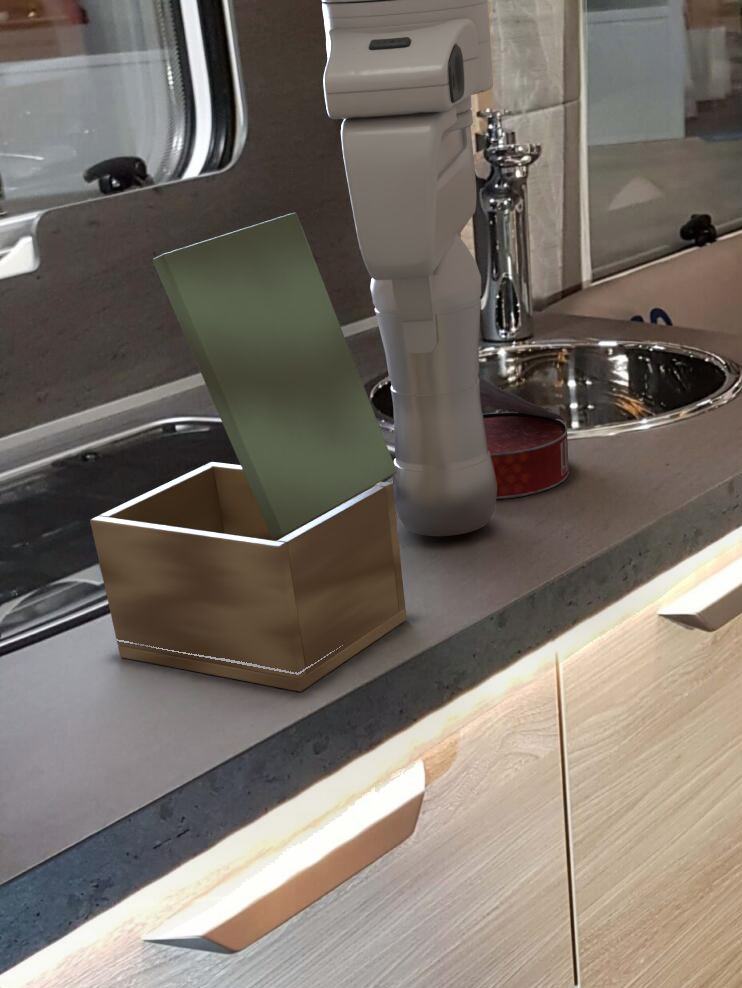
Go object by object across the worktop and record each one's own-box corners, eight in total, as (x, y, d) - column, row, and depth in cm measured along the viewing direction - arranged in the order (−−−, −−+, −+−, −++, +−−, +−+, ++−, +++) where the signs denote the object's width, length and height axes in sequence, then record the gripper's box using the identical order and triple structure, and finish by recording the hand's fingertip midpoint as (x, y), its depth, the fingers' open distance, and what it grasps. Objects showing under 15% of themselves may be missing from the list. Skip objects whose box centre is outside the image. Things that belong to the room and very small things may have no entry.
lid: (151, 259, 70) (163, 253, 70) (285, 217, 77) (296, 211, 77) (271, 539, 76) (283, 535, 75) (386, 476, 83) (397, 472, 82)
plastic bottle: (518, 532, 98) (498, 177, 86) (424, 556, 96) (390, 195, 84) (470, 507, 103) (444, 166, 91) (378, 529, 100) (340, 182, 88)
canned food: (439, 534, 112) (413, 392, 111) (575, 506, 112) (550, 364, 110) (430, 506, 101) (400, 348, 100) (581, 476, 101) (554, 317, 99)
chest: (119, 657, 86) (89, 519, 81) (233, 591, 93) (211, 461, 88) (300, 692, 80) (279, 546, 76) (407, 619, 87) (393, 482, 83)
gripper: (385, 45, 92) (410, 295, 101) (315, 84, 76) (351, 378, 84) (490, 37, 92) (506, 289, 100) (441, 74, 75) (465, 372, 84)
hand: (435, 331), depth 92 cm, fingers open, 8 cm apart
